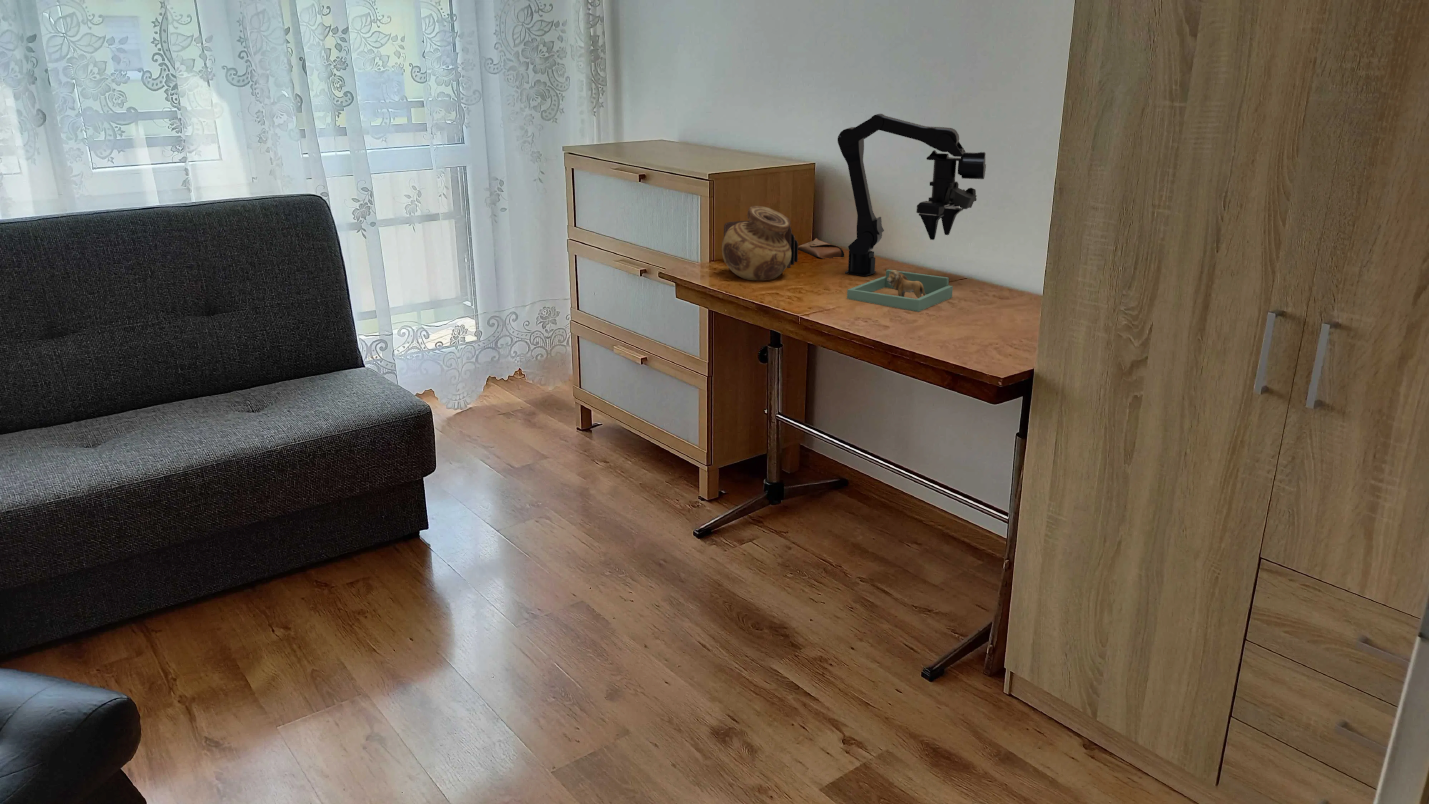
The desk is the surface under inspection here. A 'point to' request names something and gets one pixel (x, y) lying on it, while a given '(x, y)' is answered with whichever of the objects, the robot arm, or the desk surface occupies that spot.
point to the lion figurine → (904, 284)
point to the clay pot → (758, 245)
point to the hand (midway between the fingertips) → (939, 237)
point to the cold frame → (932, 286)
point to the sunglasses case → (821, 249)
